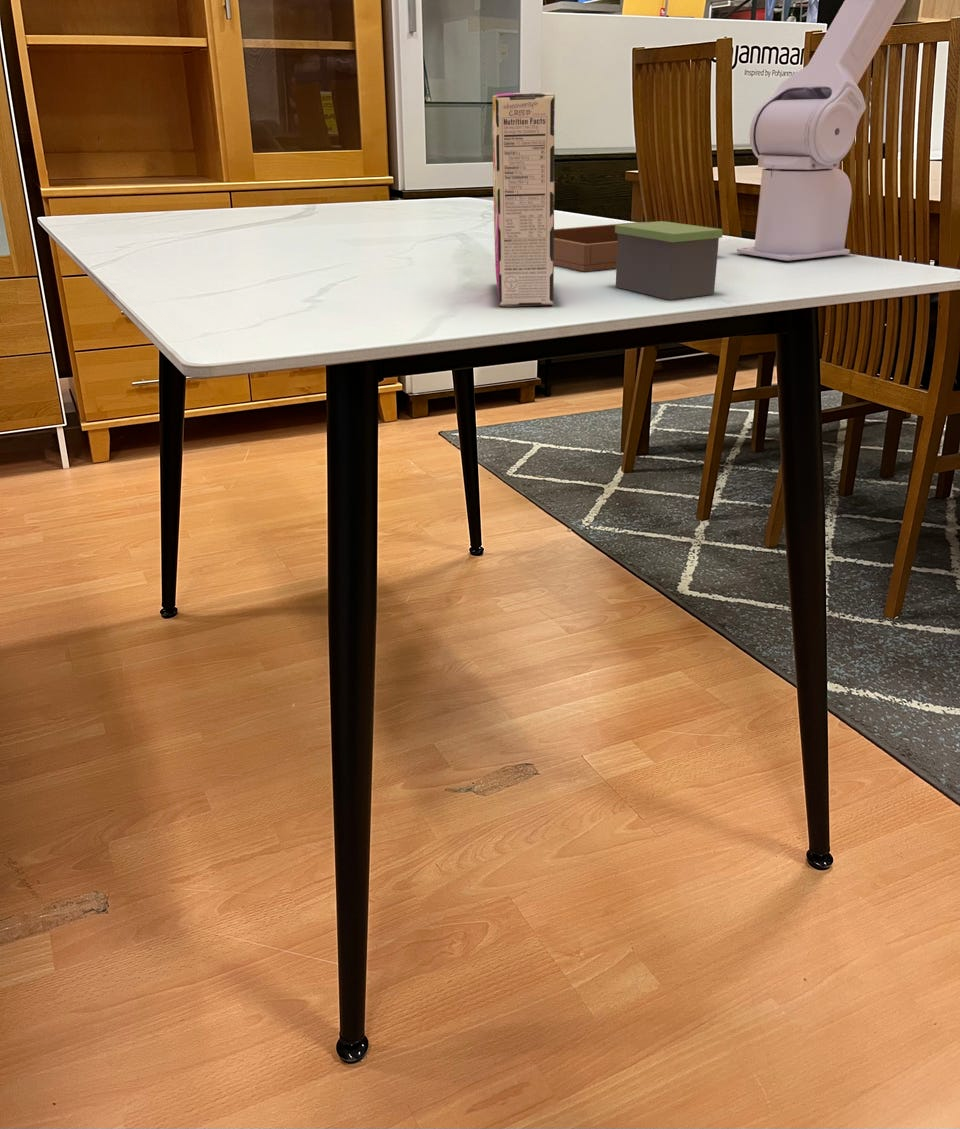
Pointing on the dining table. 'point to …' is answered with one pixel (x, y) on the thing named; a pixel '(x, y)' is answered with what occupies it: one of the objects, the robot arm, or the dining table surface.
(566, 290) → the dining table surface
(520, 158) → the candy bar box
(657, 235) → the container
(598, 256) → the tray
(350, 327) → the dining table surface
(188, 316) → the dining table surface
